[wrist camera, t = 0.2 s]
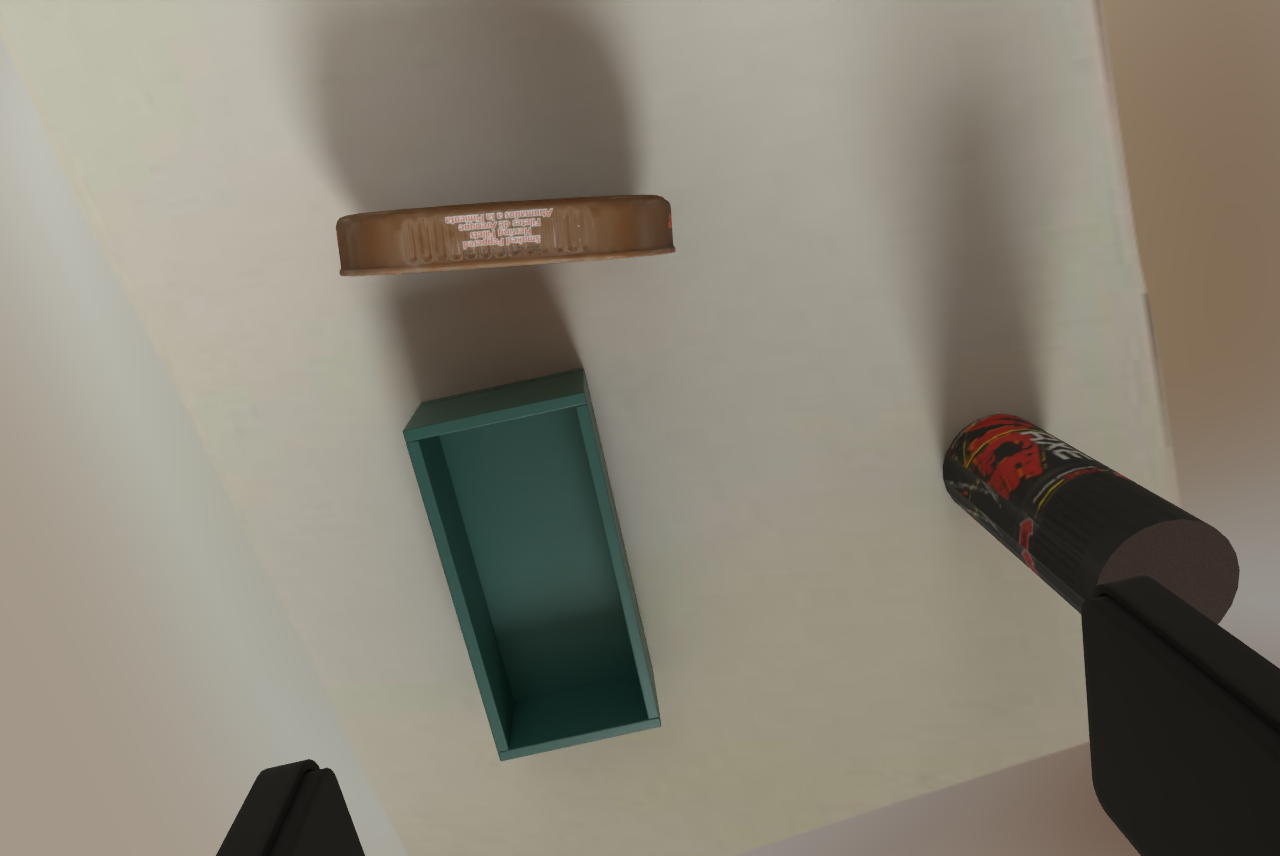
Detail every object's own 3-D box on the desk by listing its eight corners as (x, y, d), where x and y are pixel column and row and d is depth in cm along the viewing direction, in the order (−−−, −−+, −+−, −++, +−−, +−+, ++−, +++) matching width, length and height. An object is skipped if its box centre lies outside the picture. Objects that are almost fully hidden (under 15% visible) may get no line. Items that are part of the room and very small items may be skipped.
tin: (365, 270, 44) (317, 294, 36) (355, 205, 43) (304, 215, 35) (666, 250, 45) (686, 269, 37) (663, 185, 44) (682, 190, 36)
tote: (420, 402, 46) (401, 431, 41) (583, 367, 46) (584, 391, 41) (507, 705, 52) (500, 761, 47) (653, 673, 52) (661, 726, 47)
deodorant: (951, 526, 50) (1100, 671, 36) (935, 429, 49) (1087, 541, 34) (1052, 499, 50) (1242, 634, 36) (1040, 402, 48) (1235, 502, 34)
